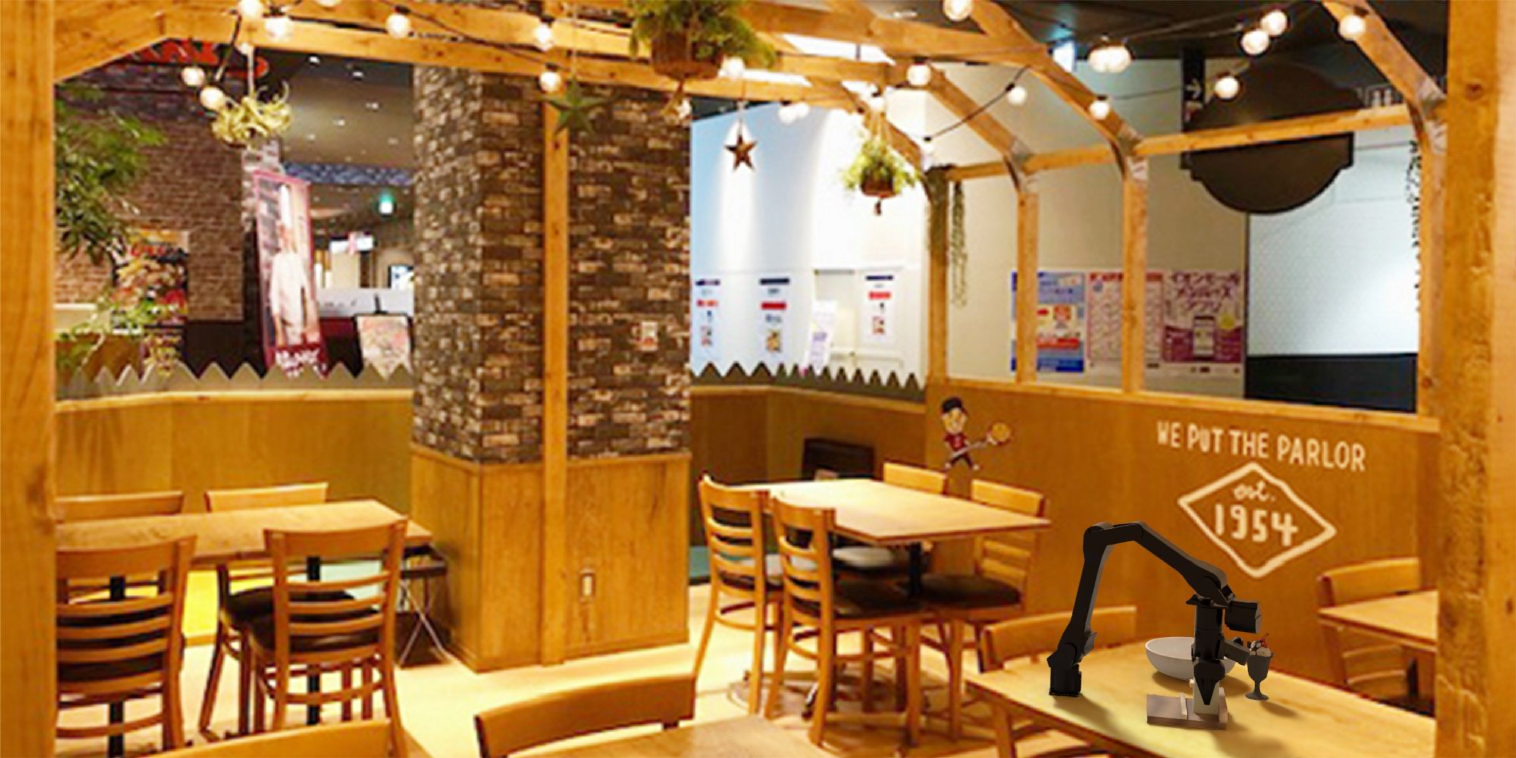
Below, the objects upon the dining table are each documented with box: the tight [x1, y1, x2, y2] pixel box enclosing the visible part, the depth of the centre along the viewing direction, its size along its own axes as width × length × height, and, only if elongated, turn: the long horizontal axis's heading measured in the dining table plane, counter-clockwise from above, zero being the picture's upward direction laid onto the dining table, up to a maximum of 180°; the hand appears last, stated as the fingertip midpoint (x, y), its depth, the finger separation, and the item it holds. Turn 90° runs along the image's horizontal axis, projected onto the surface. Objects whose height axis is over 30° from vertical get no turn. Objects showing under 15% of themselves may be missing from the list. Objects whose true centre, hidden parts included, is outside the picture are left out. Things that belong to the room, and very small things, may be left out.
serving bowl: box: [1144, 636, 1237, 682], centre depth 325 cm, size 21×21×7 cm
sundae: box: [1244, 632, 1275, 701], centre depth 308 cm, size 7×7×15 cm
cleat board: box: [1146, 686, 1229, 731], centre depth 295 cm, size 16×16×4 cm
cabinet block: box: [1189, 678, 1220, 715], centre depth 294 cm, size 6×5×8 cm
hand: (1205, 698), depth 293 cm, fingers open, 9 cm apart
